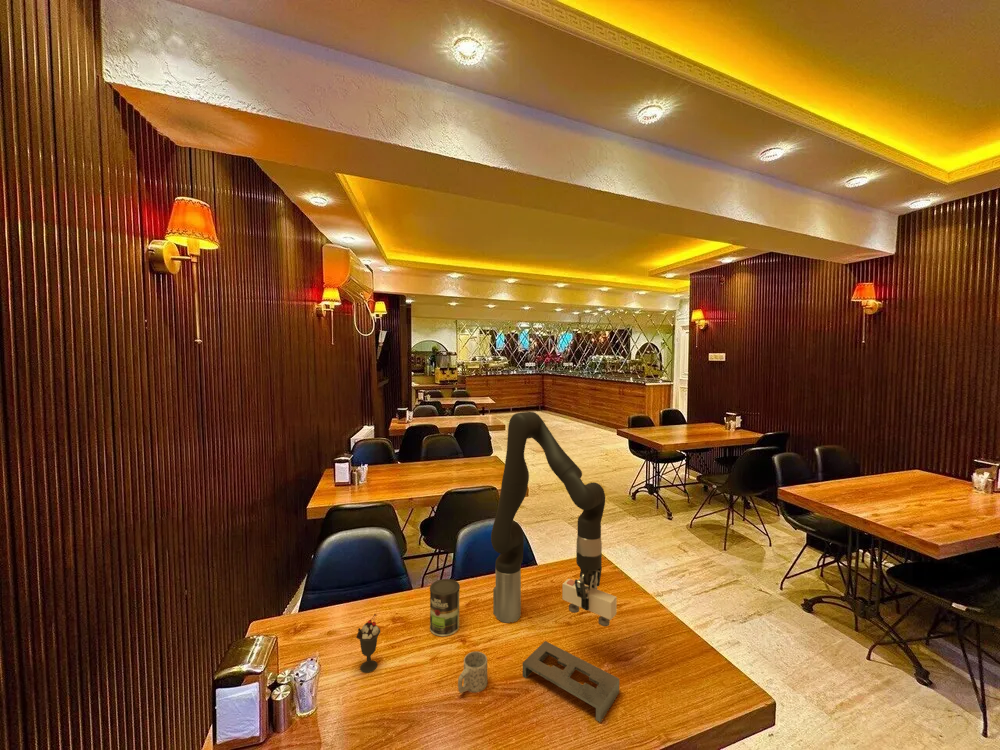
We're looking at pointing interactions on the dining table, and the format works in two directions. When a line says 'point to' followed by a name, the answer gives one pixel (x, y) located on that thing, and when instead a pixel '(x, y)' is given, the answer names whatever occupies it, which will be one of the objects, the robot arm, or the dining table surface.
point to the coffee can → (444, 607)
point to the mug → (473, 673)
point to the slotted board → (595, 697)
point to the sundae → (368, 644)
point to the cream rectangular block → (591, 602)
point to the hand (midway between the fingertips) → (588, 605)
